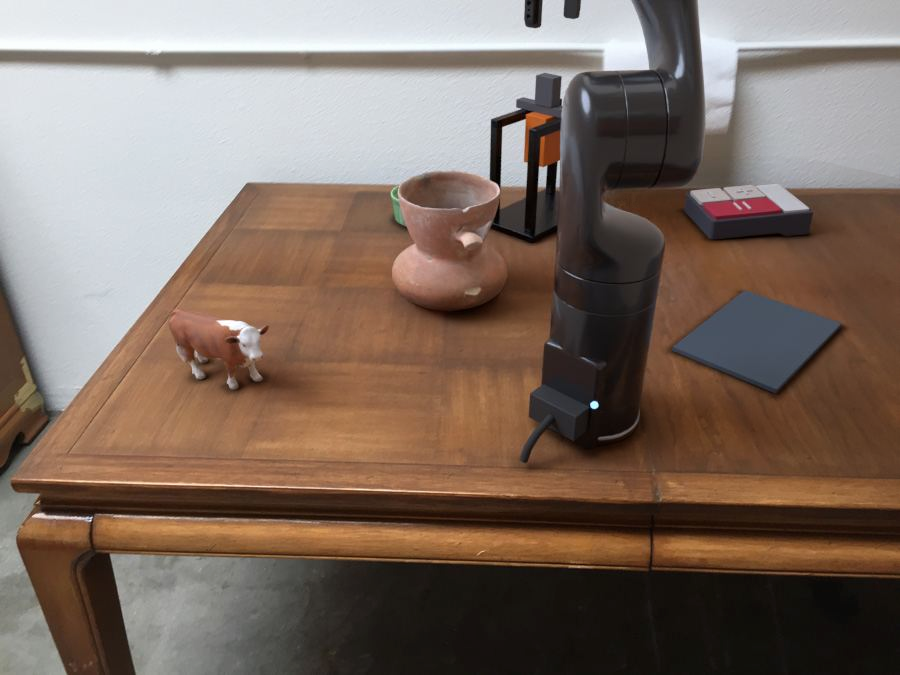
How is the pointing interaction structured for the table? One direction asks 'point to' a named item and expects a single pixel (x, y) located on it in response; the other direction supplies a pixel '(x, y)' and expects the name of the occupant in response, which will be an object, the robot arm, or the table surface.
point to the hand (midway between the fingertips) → (552, 22)
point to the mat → (758, 340)
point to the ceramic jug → (449, 241)
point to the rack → (538, 208)
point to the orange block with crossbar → (544, 116)
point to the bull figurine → (216, 342)
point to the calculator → (747, 211)
